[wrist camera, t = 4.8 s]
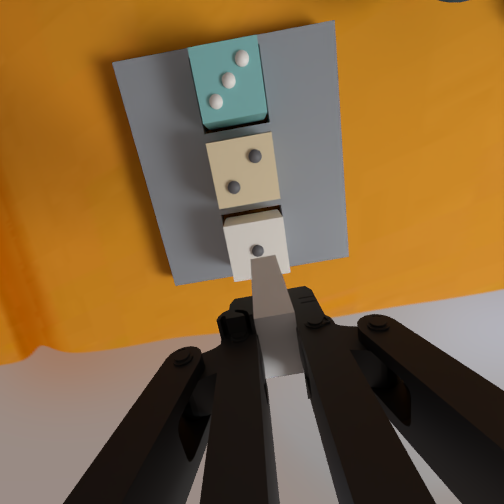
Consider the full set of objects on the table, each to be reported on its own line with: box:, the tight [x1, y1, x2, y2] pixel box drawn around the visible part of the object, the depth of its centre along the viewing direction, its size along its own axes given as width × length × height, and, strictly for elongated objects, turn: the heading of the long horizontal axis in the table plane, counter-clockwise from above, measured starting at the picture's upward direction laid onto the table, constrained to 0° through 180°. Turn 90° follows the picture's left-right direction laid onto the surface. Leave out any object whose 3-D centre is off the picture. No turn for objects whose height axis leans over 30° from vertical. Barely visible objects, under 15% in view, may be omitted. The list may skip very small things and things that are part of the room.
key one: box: [223, 209, 290, 282], centre depth 25 cm, size 5×5×4 cm
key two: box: [206, 132, 281, 209], centre depth 23 cm, size 5×5×4 cm
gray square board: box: [112, 20, 349, 286], centre depth 26 cm, size 18×20×2 cm
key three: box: [188, 35, 267, 130], centre depth 22 cm, size 5×5×4 cm
